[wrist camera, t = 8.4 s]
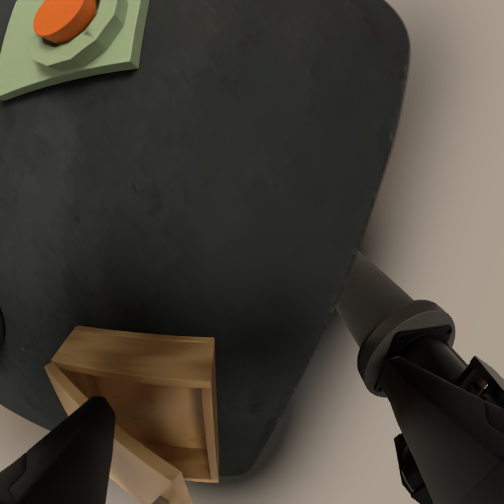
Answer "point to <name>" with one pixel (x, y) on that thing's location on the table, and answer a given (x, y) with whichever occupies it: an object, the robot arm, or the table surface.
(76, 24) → the button
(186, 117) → the table surface
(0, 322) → the pen holder
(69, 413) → the case lid
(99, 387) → the wooden case
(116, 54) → the control block
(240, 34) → the table surface
